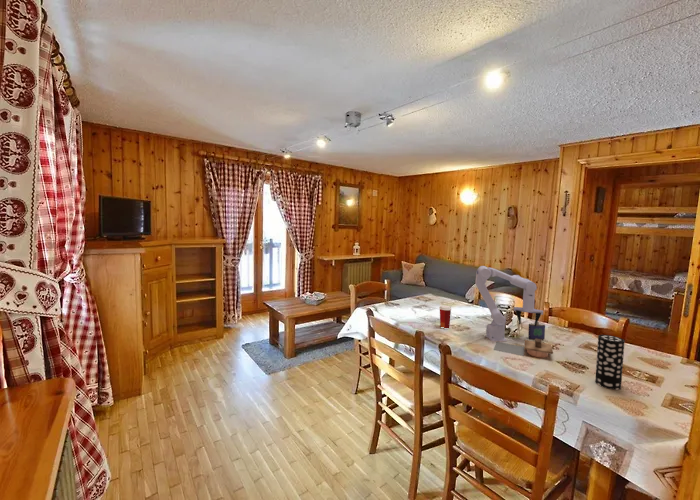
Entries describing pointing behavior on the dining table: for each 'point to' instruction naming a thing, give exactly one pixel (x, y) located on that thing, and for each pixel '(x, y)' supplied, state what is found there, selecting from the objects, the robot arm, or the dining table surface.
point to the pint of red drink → (445, 316)
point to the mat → (509, 348)
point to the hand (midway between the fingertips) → (527, 324)
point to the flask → (536, 331)
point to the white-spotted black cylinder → (609, 361)
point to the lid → (538, 346)
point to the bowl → (537, 353)
